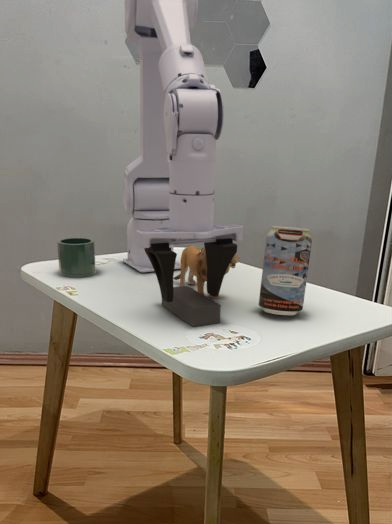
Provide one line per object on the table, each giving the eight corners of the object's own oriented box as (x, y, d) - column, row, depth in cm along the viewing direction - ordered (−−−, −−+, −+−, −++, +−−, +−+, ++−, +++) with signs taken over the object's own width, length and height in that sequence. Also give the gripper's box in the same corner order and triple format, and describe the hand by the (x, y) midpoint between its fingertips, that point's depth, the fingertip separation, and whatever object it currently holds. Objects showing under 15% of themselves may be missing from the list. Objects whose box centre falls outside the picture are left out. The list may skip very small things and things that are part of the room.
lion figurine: (241, 302, 83) (245, 241, 79) (212, 308, 80) (214, 245, 77) (186, 280, 94) (187, 225, 91) (159, 284, 91) (159, 228, 88)
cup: (56, 270, 98) (53, 238, 96) (89, 267, 100) (88, 236, 98) (65, 278, 93) (62, 245, 91) (100, 275, 95) (98, 243, 93)
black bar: (161, 305, 81) (161, 288, 80) (186, 302, 82) (187, 285, 81) (192, 326, 72) (193, 308, 71) (220, 322, 74) (220, 304, 73)
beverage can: (254, 318, 76) (260, 228, 72) (263, 303, 83) (269, 220, 78) (301, 323, 74) (310, 232, 70) (306, 307, 81) (315, 223, 77)
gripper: (150, 198, 65) (152, 311, 70) (257, 194, 71) (252, 298, 76) (129, 192, 71) (131, 297, 75) (229, 189, 77) (226, 286, 82)
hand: (190, 297), depth 76 cm, fingers open, 6 cm apart
